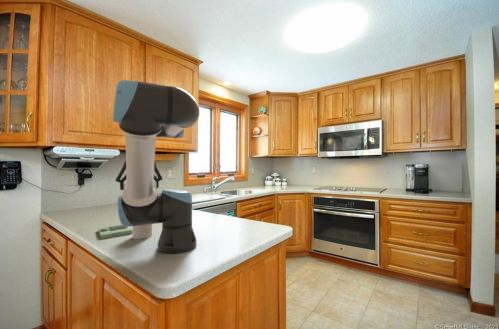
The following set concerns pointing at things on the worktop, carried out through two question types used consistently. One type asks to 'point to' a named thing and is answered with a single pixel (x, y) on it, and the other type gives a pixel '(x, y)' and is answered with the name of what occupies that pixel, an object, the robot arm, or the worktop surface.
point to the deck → (106, 233)
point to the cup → (142, 231)
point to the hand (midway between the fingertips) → (140, 196)
